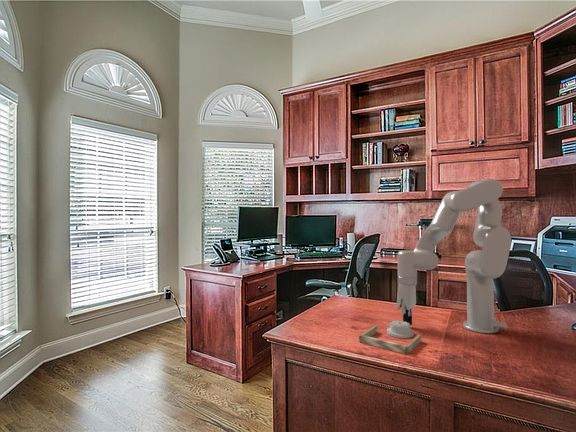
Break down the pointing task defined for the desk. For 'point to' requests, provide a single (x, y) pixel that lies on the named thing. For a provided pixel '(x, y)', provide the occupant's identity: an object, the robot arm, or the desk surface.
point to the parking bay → (388, 345)
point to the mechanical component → (400, 329)
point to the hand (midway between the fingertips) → (407, 324)
